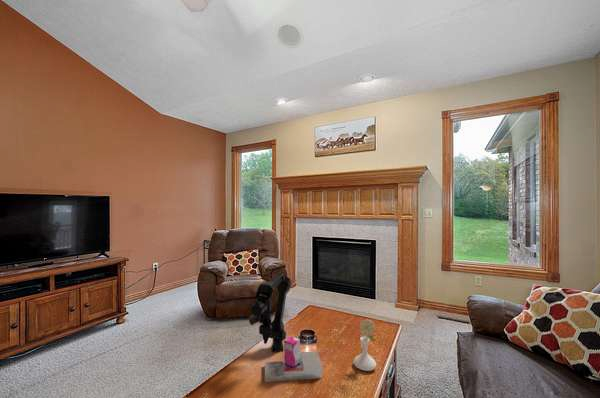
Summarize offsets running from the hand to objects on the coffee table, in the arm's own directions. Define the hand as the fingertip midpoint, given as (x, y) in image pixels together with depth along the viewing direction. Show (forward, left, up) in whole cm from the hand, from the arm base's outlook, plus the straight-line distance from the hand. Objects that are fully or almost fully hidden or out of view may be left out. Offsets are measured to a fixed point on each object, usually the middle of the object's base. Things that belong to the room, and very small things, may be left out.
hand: (265, 338), depth 135 cm
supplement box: (+8, +13, -9) cm, 18 cm away
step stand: (+8, +13, -13) cm, 20 cm away
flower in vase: (+8, +51, -13) cm, 53 cm away
